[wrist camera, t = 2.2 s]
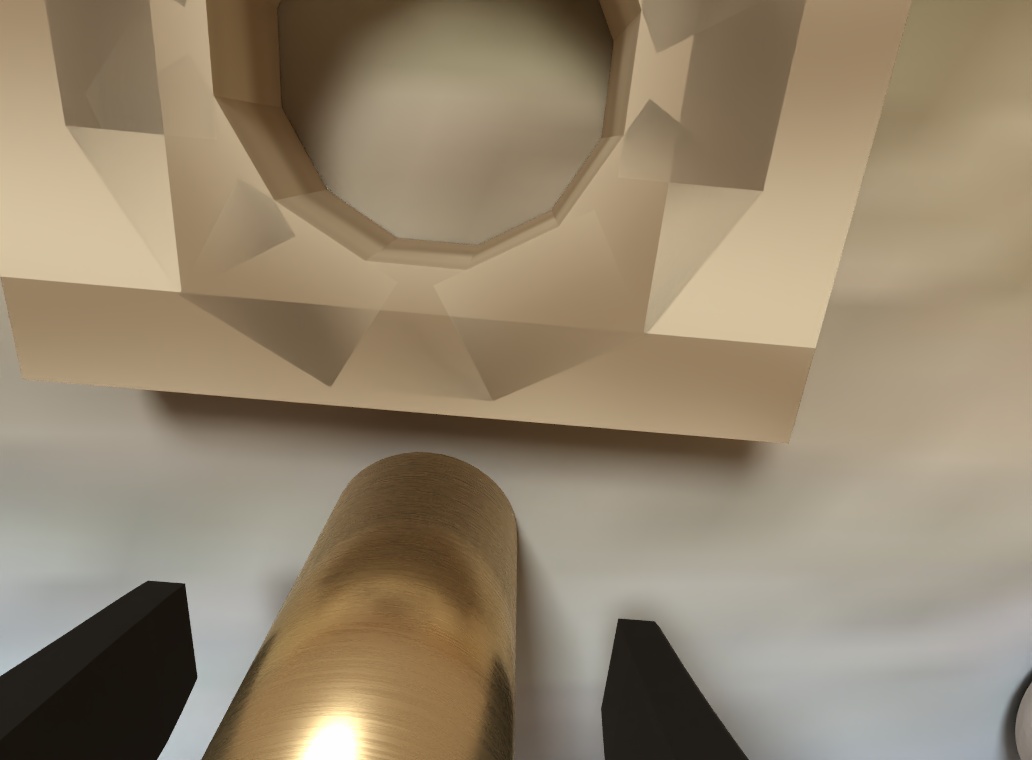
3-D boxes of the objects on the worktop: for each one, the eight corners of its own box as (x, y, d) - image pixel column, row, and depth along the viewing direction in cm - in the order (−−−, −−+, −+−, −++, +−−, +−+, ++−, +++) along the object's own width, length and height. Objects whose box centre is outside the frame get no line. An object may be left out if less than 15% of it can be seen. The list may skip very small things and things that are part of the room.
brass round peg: (509, 614, 14) (497, 1026, 7) (335, 600, 14) (166, 1006, 7) (525, 460, 12) (528, 802, 6) (331, 444, 12) (117, 773, 6)
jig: (738, 388, 12) (788, 444, 10) (119, 334, 12) (23, 379, 9) (897, -287, 8) (1036, -448, 6) (9, -388, 8) (-190, -596, 6)
